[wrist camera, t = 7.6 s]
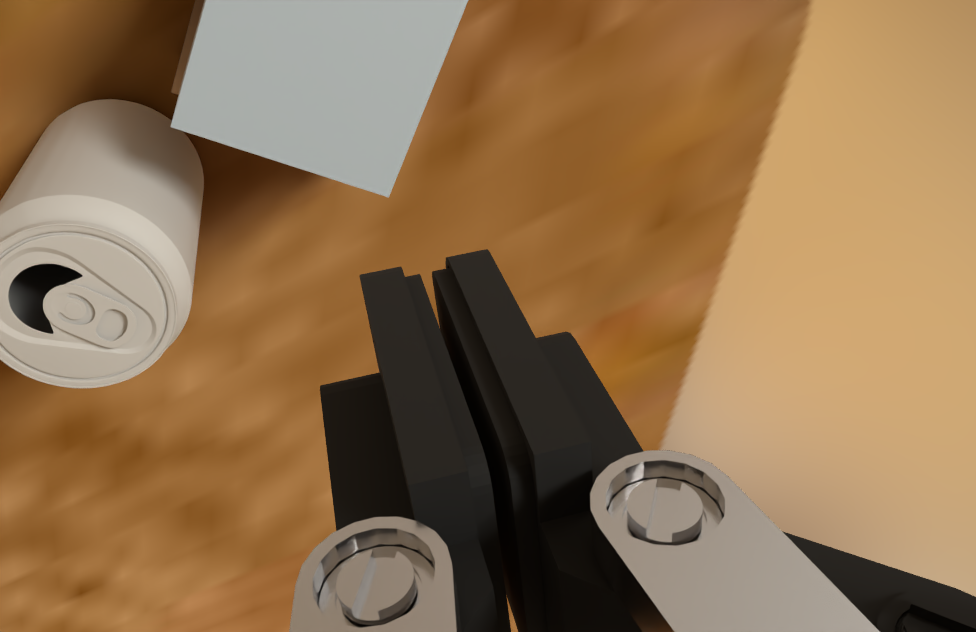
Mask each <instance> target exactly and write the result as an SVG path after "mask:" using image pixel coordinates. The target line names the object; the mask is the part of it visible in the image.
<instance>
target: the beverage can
mask: <svg viewBox="0 0 976 632" xmlns="http://www.w3.org/2000/svg"><path fill="white" fill-rule="evenodd" d="M171 123H172V121H171V120H170V119H169V118H167V117H166V116H164V115H163V114H161V113H159V112H158V111H156V110H154V109H152V108H149V107H147V106H144V105H141V104H138V103H134V102H130V101H125V100H116V99H104V100H94V101H90V102H86V103H82V104H79V105H77V106H75V107H73V108H71V109H69V110H67V111H66V112H64V113H62V114H61V115H59V116H58V117H57V118H56V119H54V120H53V121H52V122H51V124H50V125H49V126H48V127H47V128H46V130H45V131H44V133H43V134H42V136H41V137H40V139H39V141H38V142H37V144H36V145H35V147H34V148H33V150H32V152H31V153H30V155H29V156H28V158H27V160H26V161H25V163H24V164H23V166H22V168H21V169H20V171H19V172H18V174H17V176H16V177H15V179H14V180H13V182H12V184H11V185H10V187H9V188H8V190H7V191H6V193H5V195H4V196H3V198H2V199H1V201H0V360H1V361H3V362H4V363H5V364H7V365H8V366H9V367H11V368H12V369H14V370H16V371H18V372H19V373H21V374H23V375H25V376H27V377H30V378H32V379H35V380H37V381H40V382H43V383H47V384H51V385H55V386H61V387H68V388H96V387H103V386H109V385H113V384H116V383H120V382H123V381H125V380H128V379H130V378H132V377H134V376H136V375H138V374H140V373H141V372H143V371H145V370H146V369H147V368H149V367H150V366H151V365H153V364H154V363H155V362H156V361H157V360H158V359H159V358H160V357H161V355H162V354H163V353H164V351H165V350H166V349H167V348H168V347H169V346H170V345H171V344H172V343H173V342H174V341H175V340H176V338H177V337H178V335H179V334H180V333H181V331H182V329H183V328H184V325H185V323H186V321H187V319H188V316H189V312H190V308H191V302H192V293H193V284H194V274H195V265H196V256H197V247H198V237H199V228H200V219H201V210H202V201H203V191H204V175H203V169H202V164H201V161H200V158H199V156H198V153H197V151H196V149H195V147H194V146H193V144H192V142H191V141H190V139H189V138H188V137H187V135H186V134H185V133H184V132H183V131H181V130H178V129H175V128H172V127H171Z"/></svg>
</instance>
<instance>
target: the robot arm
mask: <svg viewBox="0 0 976 632" xmlns="http://www.w3.org/2000/svg"><path fill="white" fill-rule="evenodd" d="M432 278H433V286H434V292H435V299H436V305H437V312H438V318H439V325H440V328H439V325H438V323H437V320H436V317H435V314H434V312H433V309H432V306H431V303H430V301H429V298H428V295H427V292H426V289H425V287H424V284H423V281H422V278H421V276H420V274H418V275H413V276H408V277H405V276H404V273H403V270H402V268H401V267H397V268H392V269H387V270H382V271H377V272H372V273H367V274H362V275H360V280H361V285H362V290H363V295H364V300H365V305H366V310H367V314H368V319H369V324H370V329H371V334H372V338H373V343H374V348H375V353H376V358H377V363H378V367H379V372H380V373H376V374H371V375H366V376H362V377H357V378H353V379H348V380H344V381H339V382H335V383H330V384H325V385H321V386H320V394H321V403H322V411H323V420H324V428H325V437H326V445H327V454H328V462H329V471H330V479H331V488H332V496H333V505H334V513H335V522H336V530H337V531H336V532H334V533H332V534H331V535H330V536H328V537H327V538H326V539H325V540H323V541H322V542H321V543H320V544H319V545H317V546H316V547H315V548H314V549H313V551H312V552H311V554H310V555H309V556H308V558H307V559H306V561H305V562H304V563H303V565H302V567H301V570H300V573H299V576H298V579H297V582H296V585H295V593H294V600H293V608H292V615H291V623H290V631H289V632H511V628H510V620H509V612H508V605H507V598H508V601H509V604H510V607H511V610H512V613H513V616H514V619H515V623H516V626H517V629H518V632H976V597H974V596H972V595H970V594H968V593H965V592H963V591H961V590H958V589H956V588H953V587H950V586H947V585H944V584H941V583H938V582H935V581H932V580H929V579H926V578H922V577H920V576H916V575H913V574H910V573H907V572H904V571H901V570H898V569H895V568H892V567H888V566H885V565H883V564H880V563H876V562H874V561H871V560H867V559H865V558H862V557H858V556H855V555H852V554H849V553H846V552H843V551H840V550H837V549H834V548H831V547H828V546H825V545H822V544H819V543H816V542H812V541H810V540H807V539H804V538H800V537H797V536H794V535H791V534H788V533H785V532H782V531H781V530H780V529H779V528H778V527H777V526H776V525H775V524H774V523H773V522H772V521H771V520H770V519H769V518H768V517H767V516H766V515H765V513H764V512H763V511H761V509H760V508H759V507H758V506H757V505H756V504H755V503H754V502H753V501H752V500H751V499H750V498H749V497H748V496H747V495H746V494H745V493H744V492H743V491H742V490H741V489H740V488H739V487H738V486H737V485H736V484H735V483H734V482H733V481H732V480H731V479H730V478H729V477H728V476H727V475H726V474H725V473H723V472H722V471H721V470H720V469H718V468H717V467H716V466H714V465H713V464H712V463H710V462H707V461H705V460H703V459H700V458H698V457H696V456H694V455H691V454H686V453H681V452H675V451H670V450H657V451H643V450H642V448H641V446H640V445H639V443H638V442H637V440H636V438H635V437H634V435H633V433H632V432H631V430H630V428H629V427H628V425H627V424H626V422H625V420H624V419H623V417H622V415H621V414H620V412H619V410H618V409H617V407H616V405H615V404H614V402H613V401H612V399H611V397H610V396H609V394H608V392H607V391H606V389H605V387H604V386H603V384H602V383H601V381H600V379H599V378H598V376H597V374H596V373H595V371H594V369H593V368H592V366H591V364H590V363H589V361H588V360H587V358H586V356H585V355H584V353H583V351H582V350H581V348H580V346H579V345H578V343H577V341H576V340H575V338H574V337H573V336H572V335H571V333H569V332H562V333H558V334H553V335H549V336H544V337H540V338H535V336H534V334H533V332H532V330H531V328H530V326H529V325H528V323H527V321H526V319H525V317H524V315H523V313H522V311H521V310H520V308H519V306H518V304H517V302H516V300H515V298H514V297H513V295H512V293H511V291H510V289H509V287H508V285H507V284H506V282H505V280H504V278H503V276H502V274H501V272H500V270H499V269H498V267H497V265H496V263H495V261H494V259H493V257H492V256H491V254H490V252H489V251H488V249H486V250H481V251H476V252H471V253H466V254H461V255H456V256H451V257H446V269H442V270H437V271H432ZM506 595H507V597H506Z"/></svg>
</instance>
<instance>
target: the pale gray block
mask: <svg viewBox="0 0 976 632" xmlns="http://www.w3.org/2000/svg"><path fill="white" fill-rule="evenodd" d="M467 2H468V0H204V4H203V7H202V11H201V15H200V18H199V22H198V25H197V29H196V32H195V36H194V40H193V43H192V47H191V50H190V54H189V58H188V61H187V65H186V68H185V72H184V75H183V79H182V83H181V87H180V91H179V95H178V99H177V103H176V107H175V111H174V115H173V119H172V123H171V127H172V128H175V129H178V130H181V131H184V132H187V133H190V134H194V135H197V136H200V137H203V138H206V139H209V140H212V141H215V142H218V143H221V144H225V145H228V146H231V147H234V148H237V149H240V150H243V151H246V152H249V153H252V154H256V155H259V156H262V157H265V158H268V159H271V160H274V161H277V162H280V163H284V164H287V165H290V166H293V167H296V168H299V169H302V170H305V171H308V172H311V173H315V174H318V175H321V176H324V177H327V178H330V179H333V180H336V181H339V182H342V183H346V184H349V185H352V186H355V187H358V188H361V189H364V190H367V191H370V192H374V193H377V194H380V195H383V196H386V197H389V195H390V193H391V190H392V188H393V185H394V183H395V180H396V178H397V175H398V173H399V171H400V168H401V166H402V163H403V161H404V158H405V156H406V153H407V151H408V148H409V146H410V143H411V141H412V138H413V136H414V133H415V131H416V128H417V126H418V123H419V121H420V118H421V116H422V113H423V111H424V109H425V106H426V104H427V101H428V99H429V96H430V94H431V91H432V89H433V86H434V84H435V81H436V79H437V76H438V74H439V71H440V69H441V66H442V64H443V61H444V59H445V56H446V54H447V51H448V49H449V47H450V44H451V42H452V39H453V37H454V34H455V32H456V29H457V27H458V24H459V22H460V19H461V17H462V14H463V12H464V9H465V7H466V4H467Z"/></svg>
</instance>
